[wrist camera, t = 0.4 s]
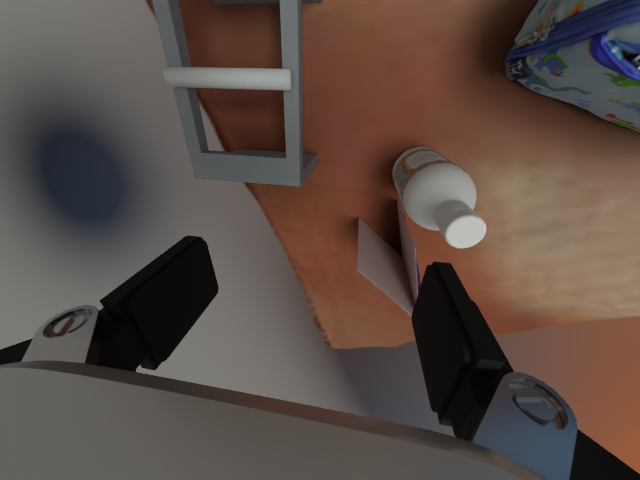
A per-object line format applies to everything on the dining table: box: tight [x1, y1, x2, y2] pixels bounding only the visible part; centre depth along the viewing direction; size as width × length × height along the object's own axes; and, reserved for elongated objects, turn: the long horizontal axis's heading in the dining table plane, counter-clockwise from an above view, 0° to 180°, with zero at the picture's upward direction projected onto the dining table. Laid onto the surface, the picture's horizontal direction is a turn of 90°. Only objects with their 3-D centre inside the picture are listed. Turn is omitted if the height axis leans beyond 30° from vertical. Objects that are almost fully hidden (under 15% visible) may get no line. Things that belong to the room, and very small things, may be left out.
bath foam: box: [393, 147, 486, 248], centre depth 26 cm, size 7×7×20 cm
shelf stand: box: [152, 0, 322, 187], centre depth 27 cm, size 20×13×14 cm, turn 178°
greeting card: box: [357, 200, 421, 316], centre depth 35 cm, size 11×7×15 cm, turn 14°
